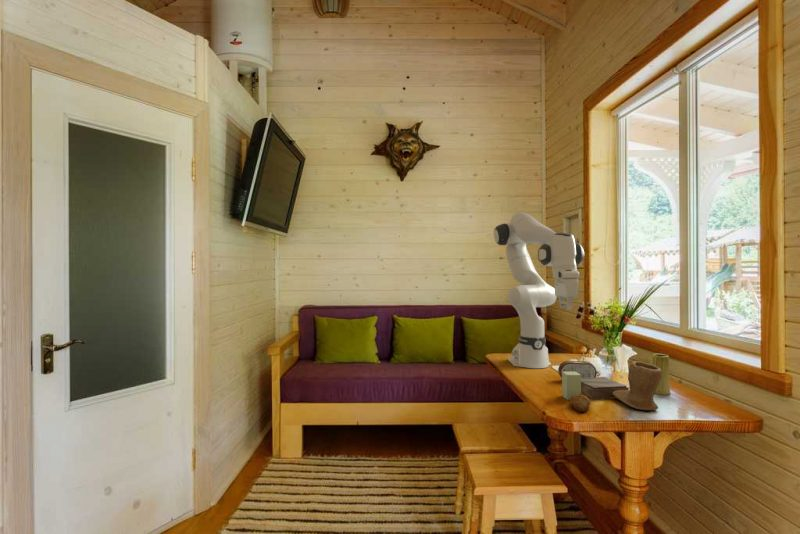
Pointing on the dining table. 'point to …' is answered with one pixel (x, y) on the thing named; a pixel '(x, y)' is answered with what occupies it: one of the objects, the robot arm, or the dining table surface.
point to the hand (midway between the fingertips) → (566, 308)
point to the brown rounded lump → (580, 402)
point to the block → (571, 384)
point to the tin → (578, 368)
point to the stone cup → (641, 386)
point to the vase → (663, 364)
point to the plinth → (600, 387)
